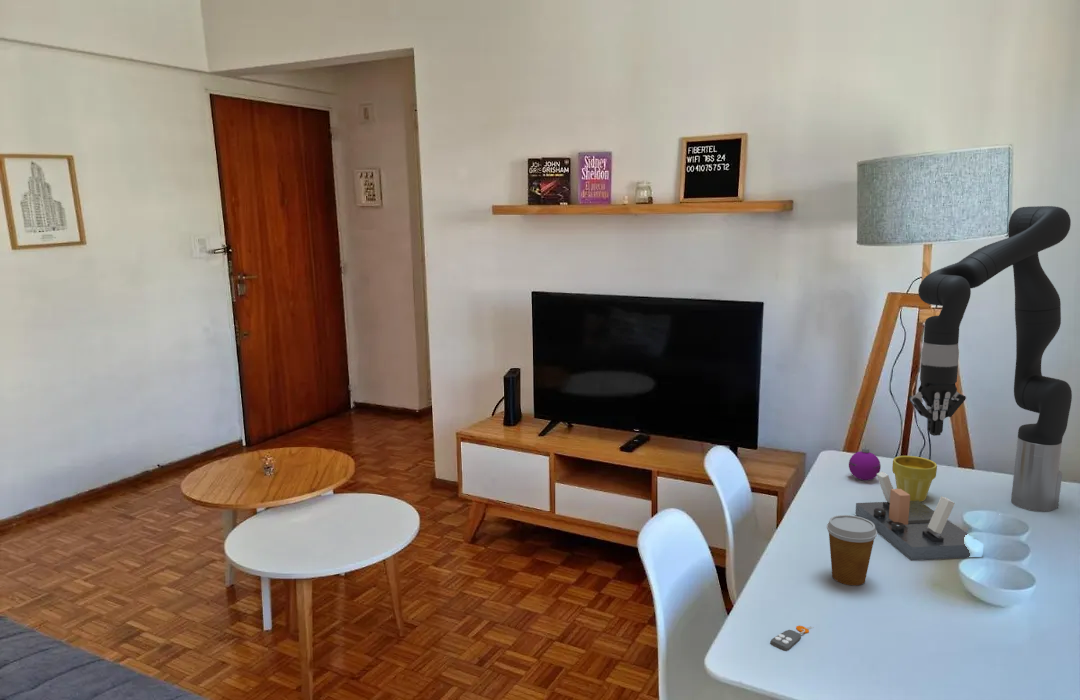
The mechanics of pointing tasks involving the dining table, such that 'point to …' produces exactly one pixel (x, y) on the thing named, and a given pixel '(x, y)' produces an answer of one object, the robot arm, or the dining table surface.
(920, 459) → the plant pot
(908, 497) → the slider knob
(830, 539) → the disposable coffee cup
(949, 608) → the dining table surface
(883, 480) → the lever
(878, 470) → the christmas ornament
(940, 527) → the lever
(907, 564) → the dining table surface
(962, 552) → the panel
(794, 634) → the key chain
